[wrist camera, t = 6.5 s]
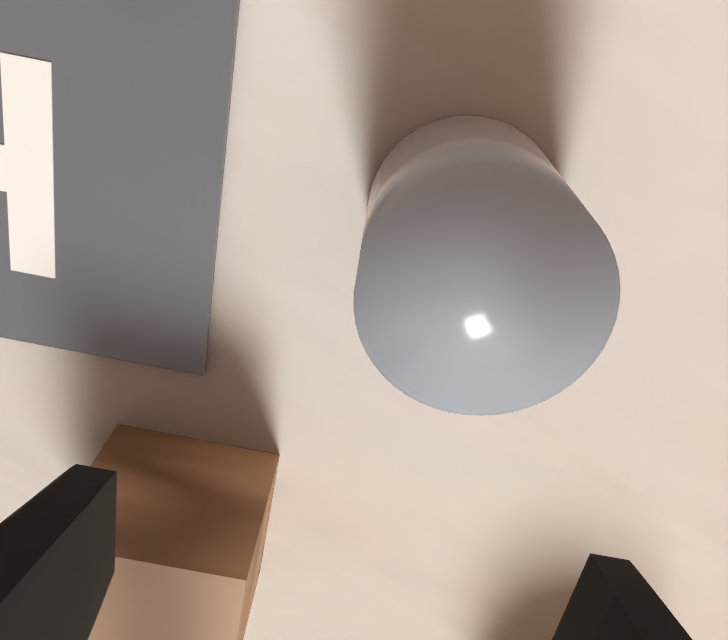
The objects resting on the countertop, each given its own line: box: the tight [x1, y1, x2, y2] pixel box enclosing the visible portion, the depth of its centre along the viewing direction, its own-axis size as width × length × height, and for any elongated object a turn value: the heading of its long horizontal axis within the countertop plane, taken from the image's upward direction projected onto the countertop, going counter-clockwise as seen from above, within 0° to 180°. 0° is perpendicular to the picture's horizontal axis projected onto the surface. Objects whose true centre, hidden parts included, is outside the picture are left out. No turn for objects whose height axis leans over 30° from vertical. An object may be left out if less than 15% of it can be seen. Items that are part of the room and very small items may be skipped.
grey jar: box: [354, 115, 620, 416], centre depth 15 cm, size 5×5×6 cm
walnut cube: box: [88, 424, 279, 640], centre depth 20 cm, size 5×5×5 cm
